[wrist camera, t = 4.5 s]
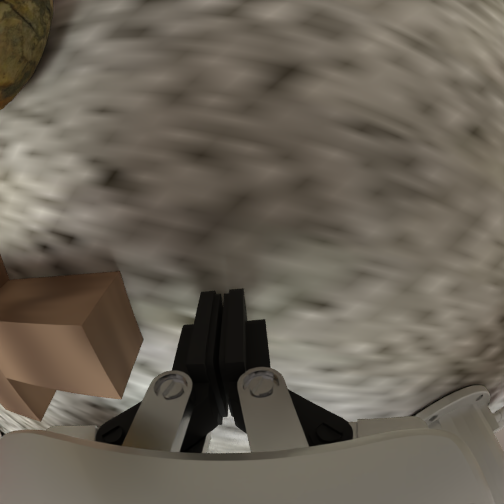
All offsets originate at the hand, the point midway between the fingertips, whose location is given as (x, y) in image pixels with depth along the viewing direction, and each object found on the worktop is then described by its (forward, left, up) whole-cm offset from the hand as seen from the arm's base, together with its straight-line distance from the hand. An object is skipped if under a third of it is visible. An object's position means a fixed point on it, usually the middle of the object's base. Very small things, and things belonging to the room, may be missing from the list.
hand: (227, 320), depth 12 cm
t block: (+11, 0, -1) cm, 11 cm away
